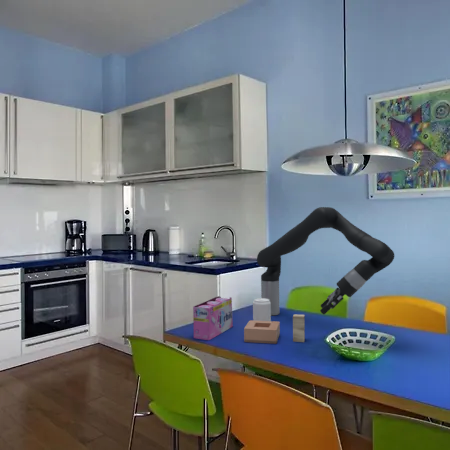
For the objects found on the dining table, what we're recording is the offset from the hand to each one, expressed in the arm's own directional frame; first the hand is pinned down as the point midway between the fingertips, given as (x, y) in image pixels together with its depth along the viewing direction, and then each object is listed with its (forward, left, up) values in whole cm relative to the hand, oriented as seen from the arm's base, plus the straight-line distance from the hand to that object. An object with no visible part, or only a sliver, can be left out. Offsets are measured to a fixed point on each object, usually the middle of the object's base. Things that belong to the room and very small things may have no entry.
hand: (321, 310), depth 171 cm
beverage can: (-19, -27, -13) cm, 36 cm away
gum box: (-5, -46, -13) cm, 48 cm away
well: (0, -24, -13) cm, 27 cm away
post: (0, -9, -13) cm, 16 cm away
